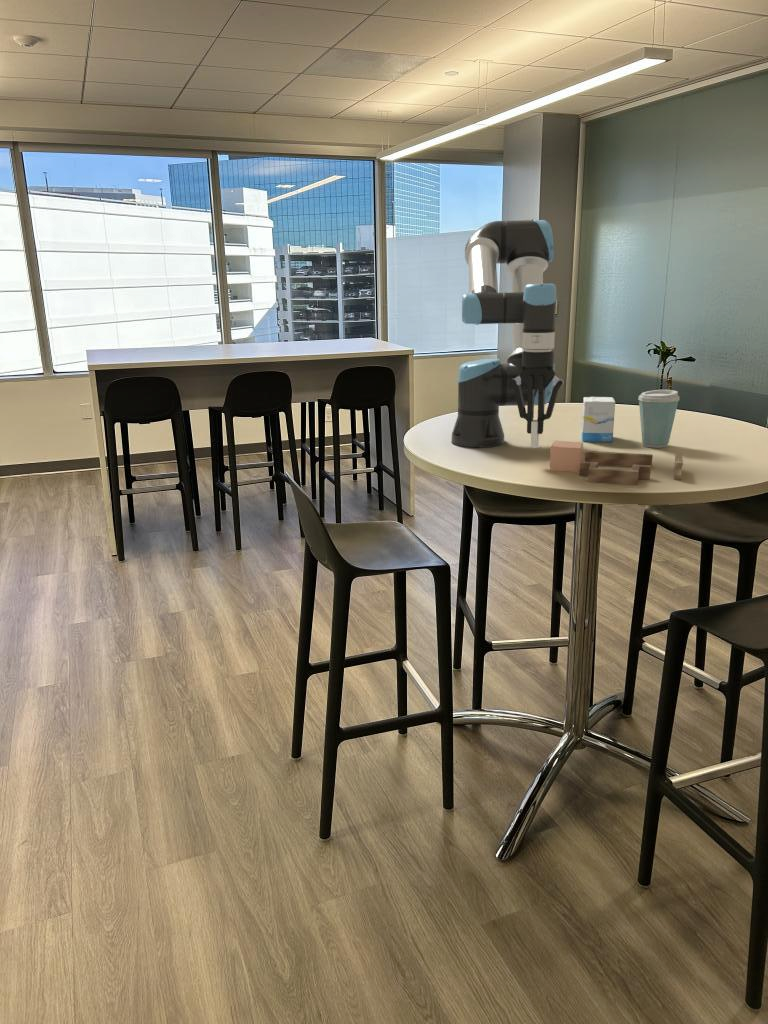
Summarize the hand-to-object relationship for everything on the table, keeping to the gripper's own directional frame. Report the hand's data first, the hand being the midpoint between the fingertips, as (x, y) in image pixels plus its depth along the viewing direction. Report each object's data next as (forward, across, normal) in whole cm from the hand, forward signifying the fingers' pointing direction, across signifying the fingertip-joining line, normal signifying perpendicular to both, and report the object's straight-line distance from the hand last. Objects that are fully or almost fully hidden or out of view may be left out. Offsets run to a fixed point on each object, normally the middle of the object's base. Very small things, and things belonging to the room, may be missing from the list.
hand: (534, 446), depth 187 cm
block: (+5, +8, 0) cm, 9 cm away
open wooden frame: (+5, +23, -2) cm, 24 cm away
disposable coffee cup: (+5, +28, +32) cm, 42 cm away
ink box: (+5, +12, +36) cm, 39 cm away
